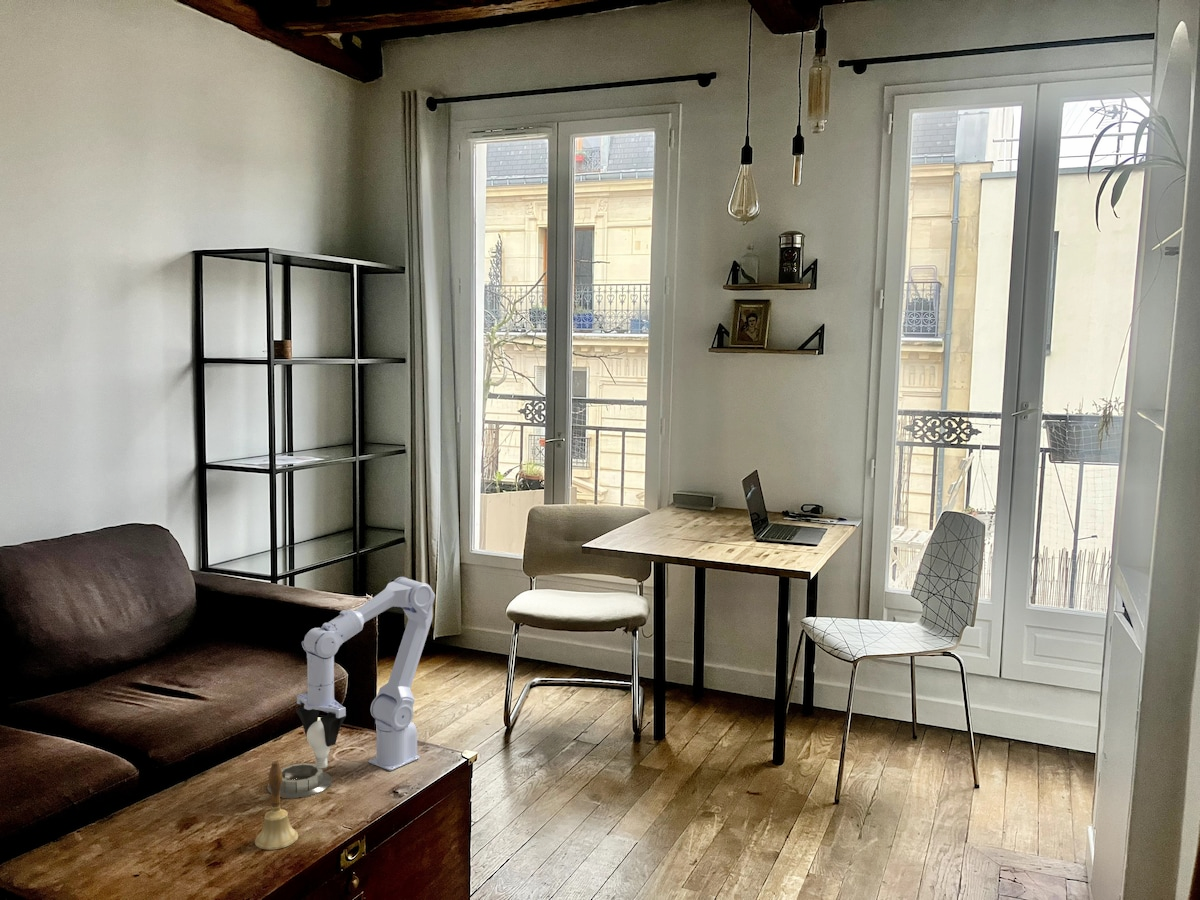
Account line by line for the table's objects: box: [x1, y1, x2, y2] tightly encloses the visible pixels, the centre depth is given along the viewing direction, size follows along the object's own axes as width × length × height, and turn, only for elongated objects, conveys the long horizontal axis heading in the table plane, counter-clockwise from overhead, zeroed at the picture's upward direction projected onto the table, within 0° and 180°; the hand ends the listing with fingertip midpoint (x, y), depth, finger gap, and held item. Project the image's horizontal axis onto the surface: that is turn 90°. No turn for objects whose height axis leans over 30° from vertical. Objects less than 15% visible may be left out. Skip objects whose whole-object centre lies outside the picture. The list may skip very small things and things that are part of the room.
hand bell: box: [254, 760, 299, 851], centre depth 187 cm, size 8×8×16 cm
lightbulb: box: [306, 719, 332, 770], centre depth 211 cm, size 6×6×11 cm
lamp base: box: [266, 762, 333, 799], centre depth 212 cm, size 14×14×3 cm
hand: (321, 741), depth 210 cm, fingers closed on lightbulb, 6 cm apart
